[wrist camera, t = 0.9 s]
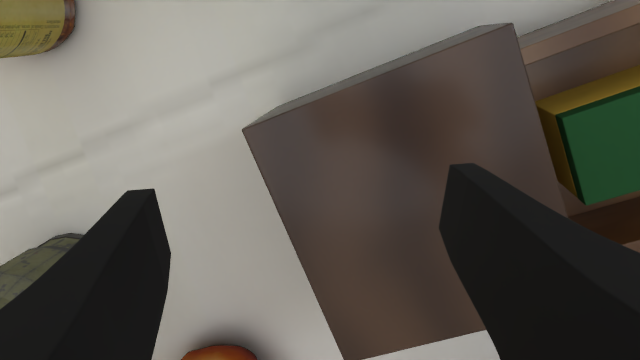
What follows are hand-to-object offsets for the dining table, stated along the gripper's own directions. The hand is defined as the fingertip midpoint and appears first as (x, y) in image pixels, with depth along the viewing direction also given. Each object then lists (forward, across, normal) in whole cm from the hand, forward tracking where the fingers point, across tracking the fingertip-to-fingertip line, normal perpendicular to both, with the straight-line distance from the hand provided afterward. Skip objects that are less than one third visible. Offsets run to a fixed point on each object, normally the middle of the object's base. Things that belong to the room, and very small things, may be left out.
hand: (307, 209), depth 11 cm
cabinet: (+15, -8, +10) cm, 19 cm away
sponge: (+12, -17, +5) cm, 21 cm away
